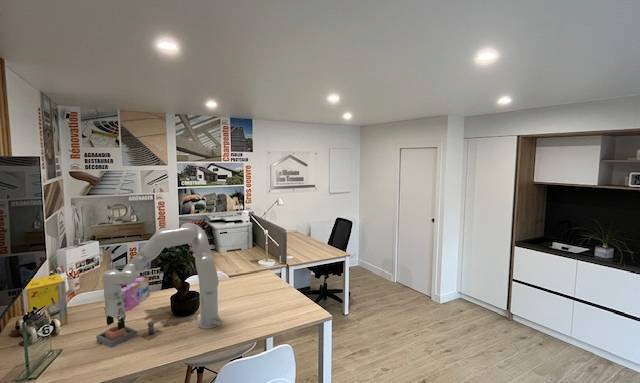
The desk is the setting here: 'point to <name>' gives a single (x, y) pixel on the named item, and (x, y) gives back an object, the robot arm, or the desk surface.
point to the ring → (114, 333)
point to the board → (151, 332)
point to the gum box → (135, 292)
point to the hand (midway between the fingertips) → (115, 326)
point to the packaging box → (47, 297)
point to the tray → (117, 341)
